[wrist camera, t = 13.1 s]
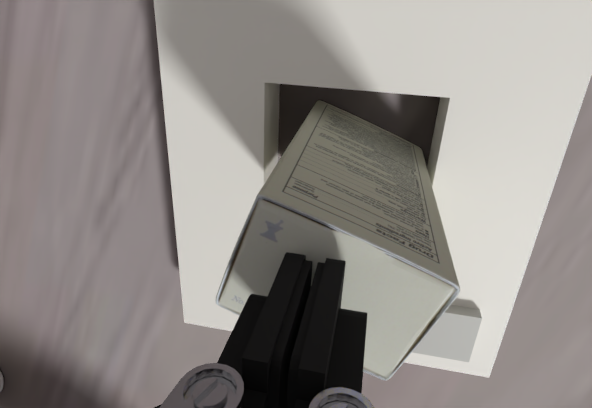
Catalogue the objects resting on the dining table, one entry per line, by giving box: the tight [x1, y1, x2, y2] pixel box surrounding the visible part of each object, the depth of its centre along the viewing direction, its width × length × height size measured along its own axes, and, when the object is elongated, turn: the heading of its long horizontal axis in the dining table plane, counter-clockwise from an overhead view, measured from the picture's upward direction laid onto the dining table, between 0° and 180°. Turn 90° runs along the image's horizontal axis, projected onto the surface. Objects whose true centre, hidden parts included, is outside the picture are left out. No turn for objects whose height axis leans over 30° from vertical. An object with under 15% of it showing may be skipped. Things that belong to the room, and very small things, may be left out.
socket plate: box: [154, 0, 592, 377], centre depth 21 cm, size 22×18×4 cm
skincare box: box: [215, 100, 460, 380], centre depth 18 cm, size 6×4×12 cm
